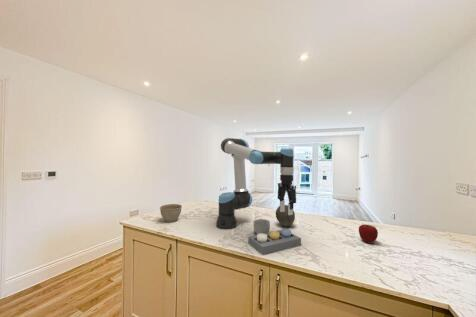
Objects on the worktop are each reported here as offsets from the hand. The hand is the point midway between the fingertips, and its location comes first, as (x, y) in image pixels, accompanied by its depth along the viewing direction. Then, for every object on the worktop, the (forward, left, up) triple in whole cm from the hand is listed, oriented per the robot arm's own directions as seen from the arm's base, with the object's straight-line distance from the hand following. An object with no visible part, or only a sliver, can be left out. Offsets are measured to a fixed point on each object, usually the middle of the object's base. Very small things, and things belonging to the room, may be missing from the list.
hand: (286, 213), depth 115 cm
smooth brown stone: (-22, +18, -17) cm, 33 cm away
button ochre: (0, -8, -14) cm, 17 cm away
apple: (+21, +44, -17) cm, 52 cm away
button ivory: (0, -17, -14) cm, 22 cm away
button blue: (0, 0, -14) cm, 14 cm away
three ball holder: (0, -8, -17) cm, 19 cm away
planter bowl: (-69, -56, -17) cm, 91 cm away
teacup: (-18, -6, -17) cm, 26 cm away
